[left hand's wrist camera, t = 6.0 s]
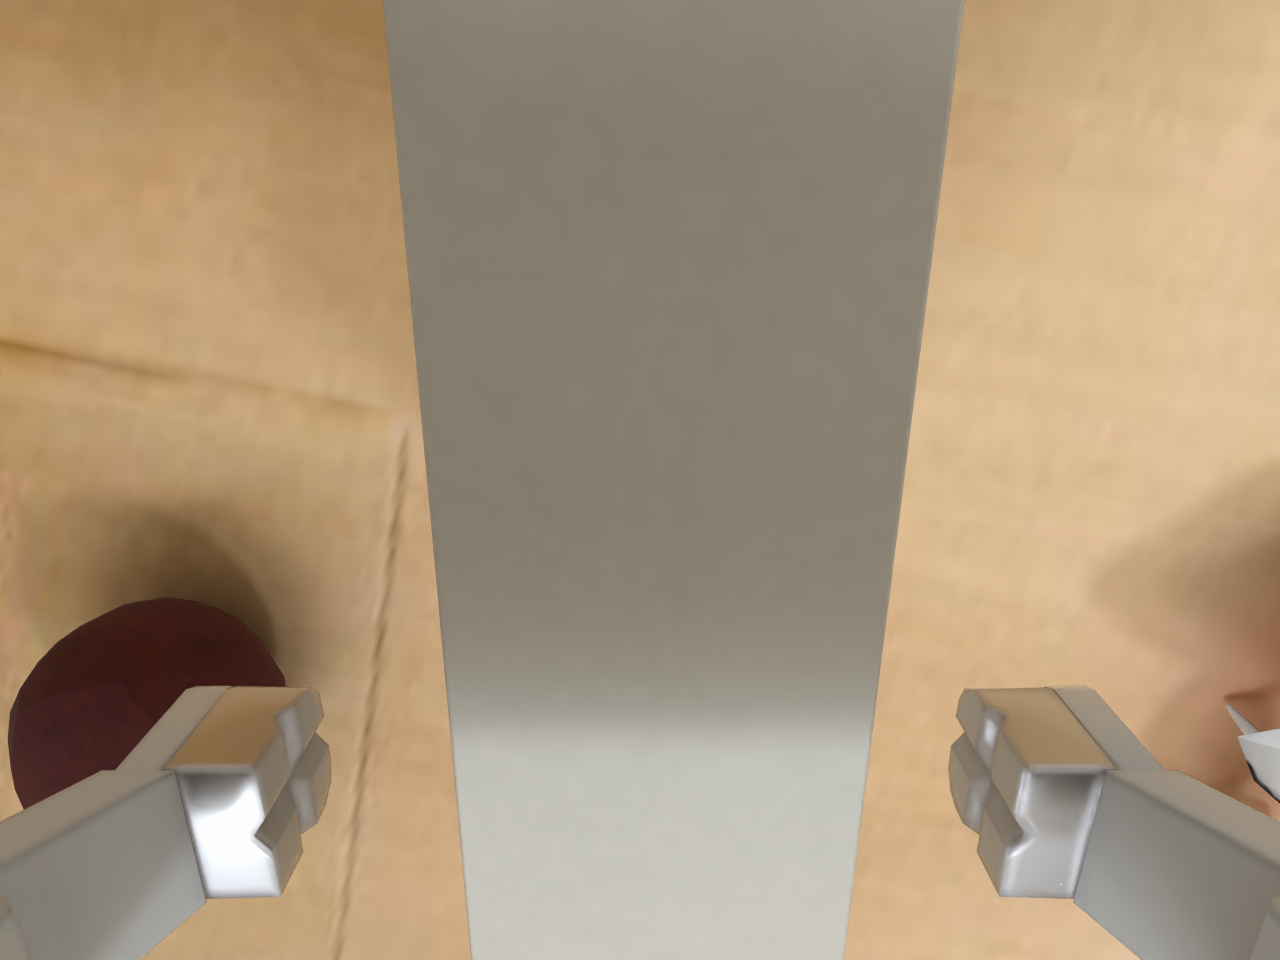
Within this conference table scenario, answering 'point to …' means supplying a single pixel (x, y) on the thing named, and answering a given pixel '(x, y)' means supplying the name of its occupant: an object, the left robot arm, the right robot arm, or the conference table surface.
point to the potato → (122, 687)
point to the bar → (666, 444)
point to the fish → (1260, 753)
